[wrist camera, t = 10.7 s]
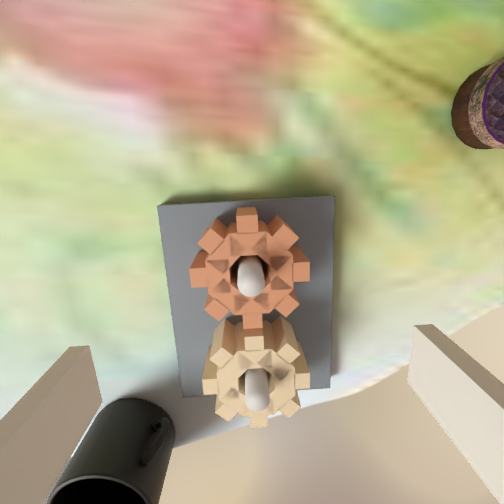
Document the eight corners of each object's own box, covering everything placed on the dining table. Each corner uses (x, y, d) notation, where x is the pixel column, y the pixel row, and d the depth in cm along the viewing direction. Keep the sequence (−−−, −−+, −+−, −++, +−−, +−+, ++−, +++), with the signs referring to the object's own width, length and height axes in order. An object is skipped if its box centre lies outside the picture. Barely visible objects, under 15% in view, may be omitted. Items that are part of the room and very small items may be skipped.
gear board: (161, 204, 28) (128, 218, 20) (330, 195, 28) (365, 205, 20) (185, 387, 34) (166, 457, 26) (326, 378, 34) (352, 445, 26)
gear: (194, 209, 27) (183, 218, 22) (298, 204, 27) (309, 211, 22) (203, 305, 29) (196, 331, 25) (298, 299, 30) (309, 325, 25)
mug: (207, 417, 35) (195, 499, 26) (140, 473, 37) (108, 567, 28) (145, 368, 33) (110, 439, 24) (77, 430, 35) (23, 517, 26)
